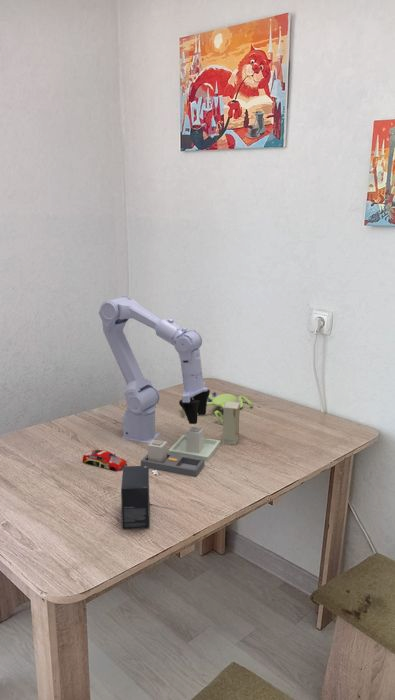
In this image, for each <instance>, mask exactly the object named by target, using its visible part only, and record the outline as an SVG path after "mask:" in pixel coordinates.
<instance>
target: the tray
mask: <svg viewBox="0 0 395 700" xmlns="http://www.w3.org/2000/svg"><path fill="white" fill-rule="evenodd" d="M221 442H222V441H221V440H220V439H218V440H217V439H212V438H205V437H204V448H203V449H202V450H201V451H200V453H196V452H190V451H186V434H183V435H182V434H181V436H180V437H179V438H178V440H176V442H175V443H174V444H172V446H171V447H170V448H169V449H167V453H169V454H175V455H181V456H186V457H192V458H198V459H203V460H205V462H208V461H209V460H210V459H211V458H212V456H213V455H214V454H215V453H216V452H217V450H218V449H219V447H220V446H221Z"/></svg>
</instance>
